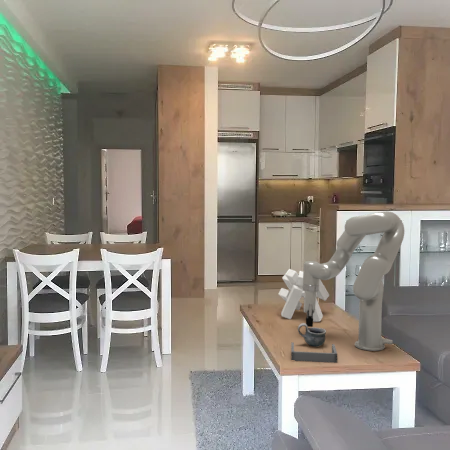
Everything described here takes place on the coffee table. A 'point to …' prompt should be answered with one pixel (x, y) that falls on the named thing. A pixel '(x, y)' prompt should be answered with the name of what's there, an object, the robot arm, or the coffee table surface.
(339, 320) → the coffee table surface
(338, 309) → the coffee table surface
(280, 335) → the coffee table surface
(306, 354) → the frame
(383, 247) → the robot arm
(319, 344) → the mug
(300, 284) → the white crossed bars sculpture
